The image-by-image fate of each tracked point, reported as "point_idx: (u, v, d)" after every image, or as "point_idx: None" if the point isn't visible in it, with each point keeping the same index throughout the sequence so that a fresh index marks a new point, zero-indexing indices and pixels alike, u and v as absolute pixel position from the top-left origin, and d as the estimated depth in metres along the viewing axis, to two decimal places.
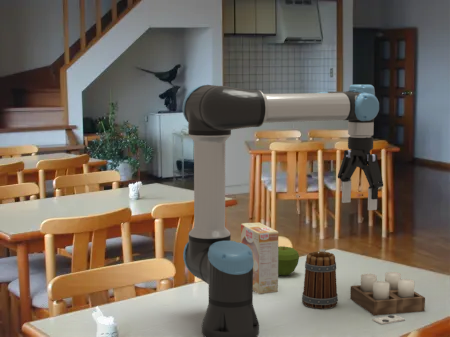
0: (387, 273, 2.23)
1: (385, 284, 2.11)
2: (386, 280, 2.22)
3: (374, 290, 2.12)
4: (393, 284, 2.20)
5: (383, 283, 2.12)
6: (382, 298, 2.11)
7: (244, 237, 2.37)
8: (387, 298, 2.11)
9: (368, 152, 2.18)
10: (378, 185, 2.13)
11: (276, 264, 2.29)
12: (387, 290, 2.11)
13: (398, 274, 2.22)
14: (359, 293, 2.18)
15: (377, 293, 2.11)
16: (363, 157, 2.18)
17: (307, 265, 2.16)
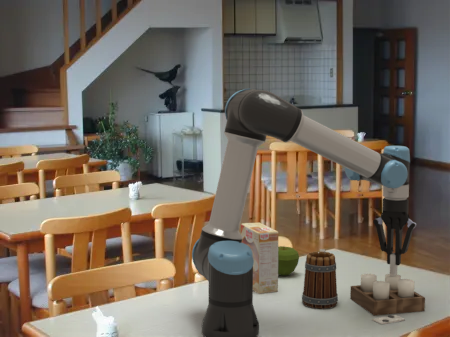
0: (387, 275, 2.23)
1: (385, 284, 2.11)
2: None
3: (374, 290, 2.12)
4: (393, 286, 2.20)
5: (383, 283, 2.12)
6: (382, 298, 2.11)
7: (244, 237, 2.37)
8: (387, 298, 2.11)
9: None
10: None
11: (276, 264, 2.29)
12: (387, 290, 2.11)
13: (398, 276, 2.22)
14: (359, 293, 2.18)
15: (377, 293, 2.11)
16: None
17: (307, 265, 2.16)
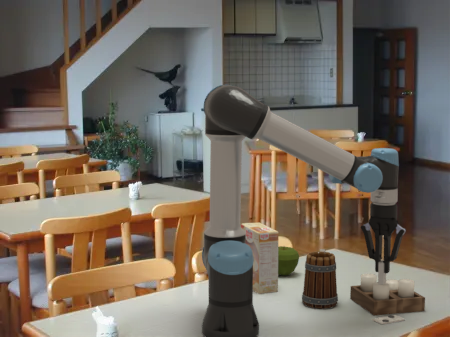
0: (387, 281, 2.23)
1: (385, 285, 2.11)
2: None
3: (374, 291, 2.12)
4: None
5: None
6: (382, 299, 2.11)
7: None
8: (387, 299, 2.11)
9: None
10: None
11: (276, 264, 2.29)
12: (387, 291, 2.11)
13: None
14: (359, 293, 2.18)
15: (377, 294, 2.11)
16: None
17: (307, 265, 2.16)
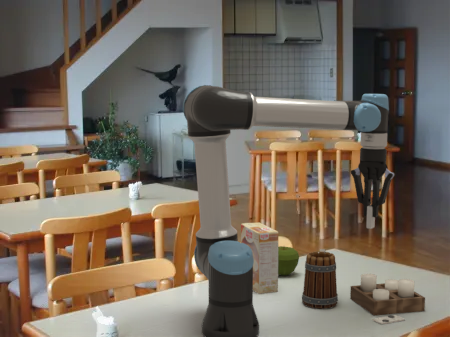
0: (387, 281, 2.23)
1: (385, 292, 2.11)
2: (386, 288, 2.22)
3: (374, 298, 2.12)
4: None
5: (382, 291, 2.12)
6: None
7: (244, 237, 2.37)
8: None
9: None
10: None
11: (276, 264, 2.29)
12: (387, 298, 2.11)
13: None
14: (359, 293, 2.18)
15: None
16: None
17: (307, 265, 2.16)
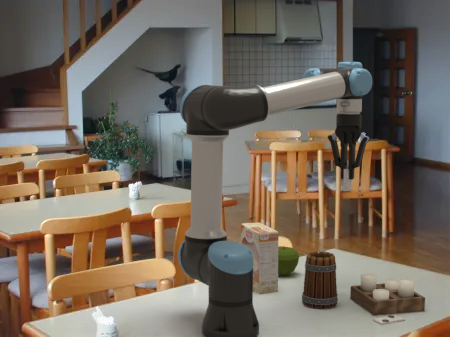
0: (387, 281, 2.23)
1: (385, 292, 2.11)
2: (386, 288, 2.22)
3: (374, 298, 2.12)
4: None
5: (382, 291, 2.12)
6: None
7: (244, 237, 2.37)
8: None
9: None
10: None
11: (276, 264, 2.29)
12: (387, 298, 2.11)
13: None
14: (359, 293, 2.18)
15: None
16: None
17: (307, 265, 2.16)
